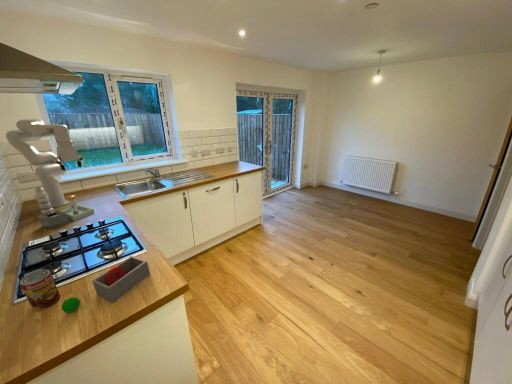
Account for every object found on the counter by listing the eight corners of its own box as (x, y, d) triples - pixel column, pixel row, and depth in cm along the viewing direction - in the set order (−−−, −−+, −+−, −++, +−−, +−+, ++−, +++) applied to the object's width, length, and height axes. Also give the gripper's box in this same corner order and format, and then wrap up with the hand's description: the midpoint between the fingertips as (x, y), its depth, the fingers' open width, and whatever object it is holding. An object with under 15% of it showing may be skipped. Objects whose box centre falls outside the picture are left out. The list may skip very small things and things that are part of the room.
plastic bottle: (57, 213, 154) (47, 187, 147) (45, 217, 148) (34, 190, 141) (52, 212, 156) (42, 186, 149) (40, 216, 150) (29, 189, 143)
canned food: (42, 313, 76) (29, 287, 72) (27, 308, 78) (13, 282, 74) (65, 296, 83) (55, 271, 79) (51, 292, 85) (40, 267, 81)
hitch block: (42, 226, 136) (37, 216, 134) (60, 219, 145) (57, 210, 142) (50, 229, 132) (46, 219, 130) (69, 222, 141) (65, 212, 138)
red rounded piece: (115, 292, 85) (110, 276, 82) (108, 289, 87) (103, 273, 84) (141, 273, 95) (138, 258, 92) (135, 270, 97) (131, 255, 94)
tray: (59, 215, 150) (57, 211, 149) (80, 208, 161) (78, 204, 160) (74, 220, 143) (72, 216, 142) (94, 212, 154) (93, 208, 153)
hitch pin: (70, 214, 151) (64, 197, 146) (78, 211, 155) (72, 194, 150) (74, 215, 149) (68, 198, 144) (82, 212, 153) (76, 195, 148)
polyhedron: (84, 303, 80) (80, 293, 79) (76, 314, 76) (72, 304, 74) (69, 305, 79) (65, 295, 78) (60, 316, 75) (56, 306, 73)
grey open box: (97, 295, 84) (92, 280, 81) (135, 268, 98) (131, 255, 95) (113, 303, 80) (108, 288, 77) (150, 274, 94) (147, 261, 92)
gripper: (76, 142, 153) (83, 165, 159) (45, 145, 139) (54, 170, 145) (82, 142, 150) (88, 166, 156) (51, 146, 136) (59, 172, 142)
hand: (72, 168), depth 151 cm, fingers open, 9 cm apart
